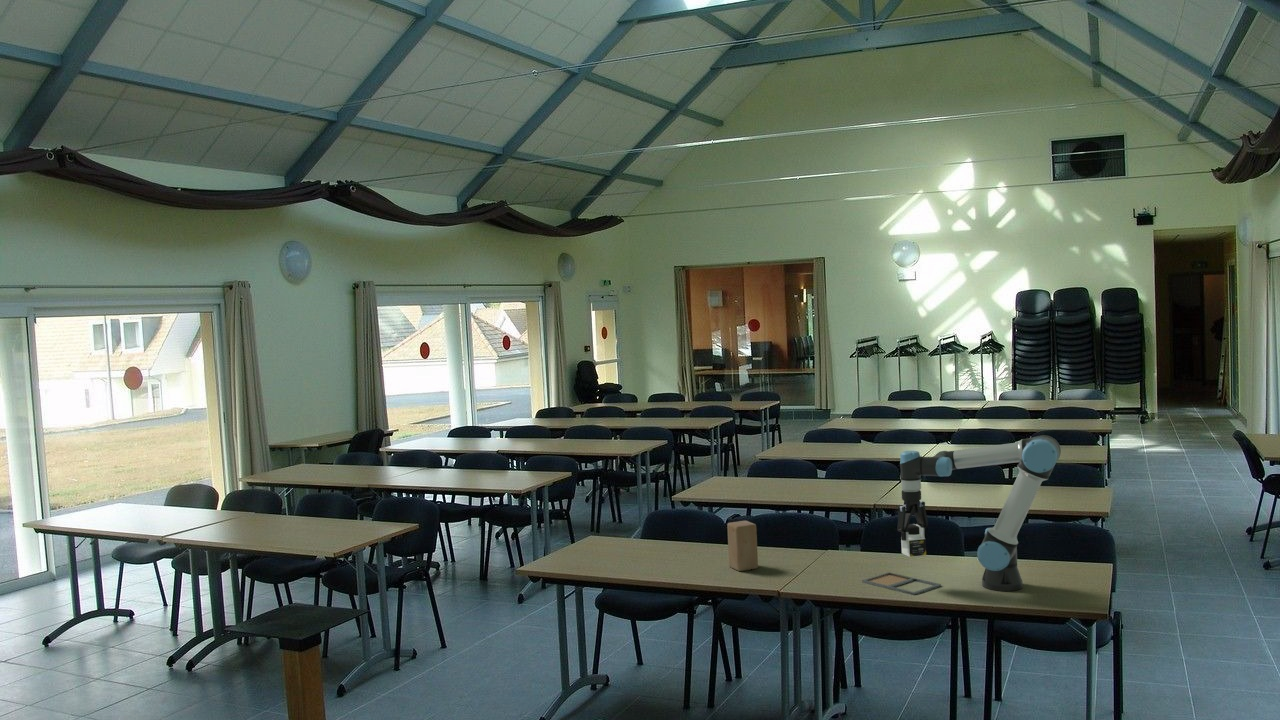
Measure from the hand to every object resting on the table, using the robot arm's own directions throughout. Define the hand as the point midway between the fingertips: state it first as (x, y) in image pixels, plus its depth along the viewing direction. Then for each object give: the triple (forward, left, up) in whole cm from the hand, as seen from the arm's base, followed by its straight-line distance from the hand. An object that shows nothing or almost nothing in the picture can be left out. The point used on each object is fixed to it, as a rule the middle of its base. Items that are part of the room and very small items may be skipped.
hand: (913, 545), depth 388 cm
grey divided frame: (+7, 0, -17) cm, 18 cm away
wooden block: (+71, +27, -17) cm, 78 cm away
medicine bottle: (0, 0, -4) cm, 4 cm away
